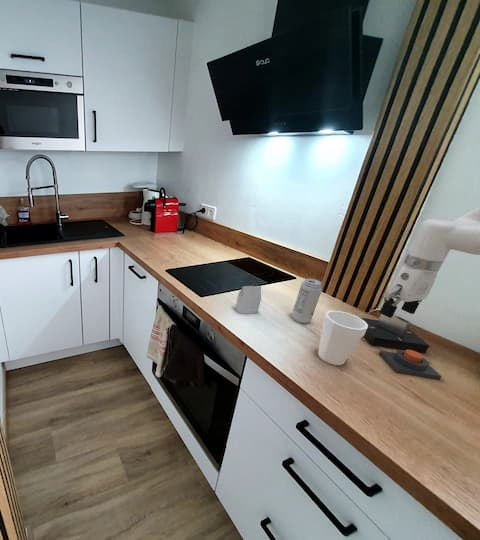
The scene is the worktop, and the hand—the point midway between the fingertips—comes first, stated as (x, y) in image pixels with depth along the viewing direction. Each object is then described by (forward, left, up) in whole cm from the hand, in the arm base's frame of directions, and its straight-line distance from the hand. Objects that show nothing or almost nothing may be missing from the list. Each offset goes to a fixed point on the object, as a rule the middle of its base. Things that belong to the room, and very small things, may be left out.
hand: (396, 313), depth 89 cm
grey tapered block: (+42, -5, -9) cm, 43 cm away
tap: (0, 0, -6) cm, 6 cm away
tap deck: (0, 0, -9) cm, 9 cm away
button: (+2, +14, -7) cm, 16 cm away
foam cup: (+22, +16, -9) cm, 29 cm away
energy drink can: (+24, -4, -9) cm, 26 cm away
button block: (+2, +14, -9) cm, 17 cm away
